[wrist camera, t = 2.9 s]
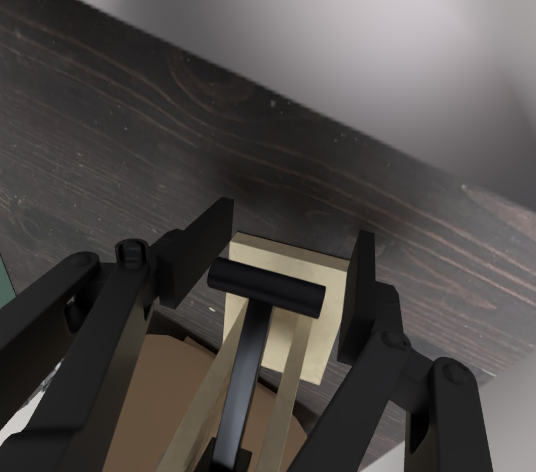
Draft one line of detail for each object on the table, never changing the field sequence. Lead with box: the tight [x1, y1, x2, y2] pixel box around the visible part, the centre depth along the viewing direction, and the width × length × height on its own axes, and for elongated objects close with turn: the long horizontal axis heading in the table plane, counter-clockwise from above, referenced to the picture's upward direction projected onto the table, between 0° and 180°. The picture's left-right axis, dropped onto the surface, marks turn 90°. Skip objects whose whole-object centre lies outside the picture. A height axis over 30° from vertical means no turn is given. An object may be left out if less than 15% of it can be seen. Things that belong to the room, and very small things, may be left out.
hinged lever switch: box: [155, 232, 350, 472], centre depth 19 cm, size 12×9×15 cm
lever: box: [193, 257, 326, 472], centre depth 14 cm, size 12×5×2 cm, turn 173°
